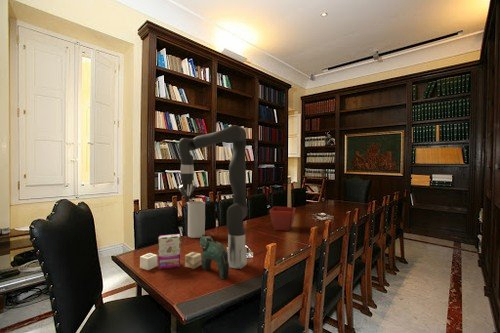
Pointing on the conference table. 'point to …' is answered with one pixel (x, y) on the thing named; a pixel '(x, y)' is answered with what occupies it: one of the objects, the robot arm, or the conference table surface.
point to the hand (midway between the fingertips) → (187, 202)
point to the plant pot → (282, 218)
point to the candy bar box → (169, 251)
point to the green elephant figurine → (214, 255)
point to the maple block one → (192, 260)
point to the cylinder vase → (196, 219)
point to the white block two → (148, 261)
